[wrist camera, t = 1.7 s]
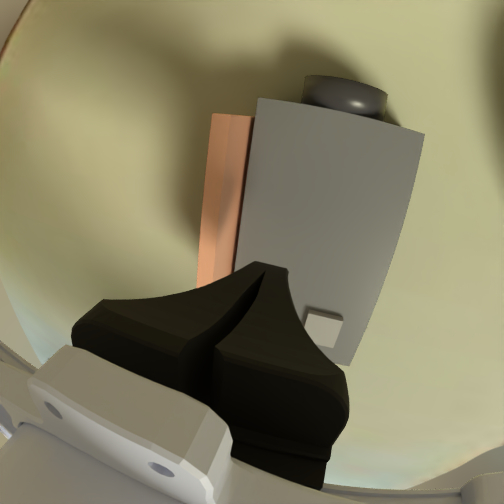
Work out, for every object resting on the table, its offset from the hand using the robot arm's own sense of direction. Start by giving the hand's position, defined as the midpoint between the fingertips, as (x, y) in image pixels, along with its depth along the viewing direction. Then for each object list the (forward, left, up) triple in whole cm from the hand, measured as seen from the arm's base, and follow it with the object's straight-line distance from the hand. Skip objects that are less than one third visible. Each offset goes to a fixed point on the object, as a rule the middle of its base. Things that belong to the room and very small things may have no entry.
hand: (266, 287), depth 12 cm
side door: (0, +4, -9) cm, 10 cm away
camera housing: (0, -2, -9) cm, 9 cm away
